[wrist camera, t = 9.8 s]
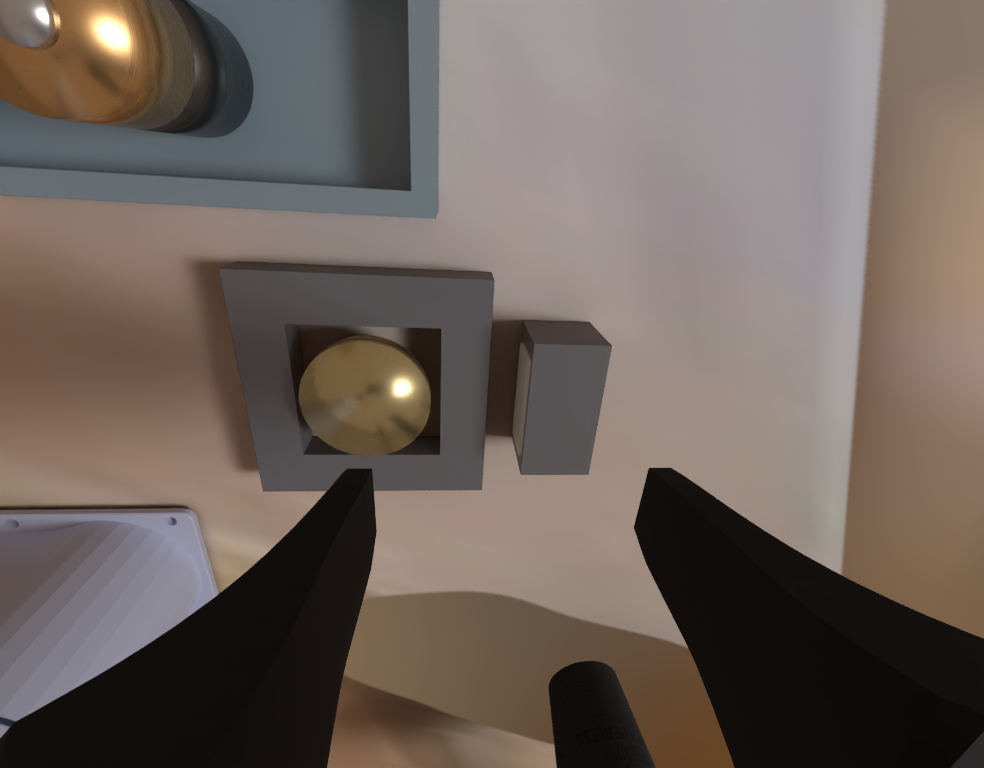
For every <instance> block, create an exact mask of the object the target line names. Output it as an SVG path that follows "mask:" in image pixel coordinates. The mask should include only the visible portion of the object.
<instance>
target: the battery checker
mask: <svg viewBox="0 0 984 768" xmlns="http://www.w3.org/2000/svg"><path fill="white" fill-rule="evenodd" d="M219 273H220V278H221V283H222V288H223V293H224V298H225V303H226V308H227V313H228V318H229V323H230V328H231V333H232V338H233V343H234V348H235V353H236V358H237V363H238V368H239V373H240V378H241V383H242V388H243V393H244V398H245V403H246V408H247V413H248V418H249V423H250V428H251V433H252V438H253V443H254V448H255V453H256V458H257V463H258V468H259V473H260V478H261V483H262V488H263V491H328V489H329V488H330V487H331V486H332V485H333V484H334V482H335V481H336V480H337V479H338V478H339V476H340V475H341V474H342V473H343V472H344V471H345V470H346V469H364V468H372V473H373V488H374V491H398V490H482V479H483V462H484V445H485V429H486V412H487V395H488V379H489V362H490V345H491V329H492V312H493V295H494V278H493V275H492V273H491V272H471V271H448V270H424V269H400V268H377V267H353V266H330V265H306V264H283V263H259V262H234V263H232V264H230V265H227V266H225V267H222V268H220V269H219ZM298 324H302V325H336V326H370V327H404V328H438V329H441V415H440V437H417V438H416V439H415V440H414V441H413V442H411V443H410V444H408V445H407V446H406V447H404V448H402V449H400V450H398V451H395V452H393V453H389V454H386V455H380V456H359V455H353V454H349V453H346V452H343V451H340V450H338V449H336V448H334V447H332V446H330V445H329V444H327V443H326V442H324V441H323V440H322V439H321V438H319V437H313V434H312V429H311V428H310V427H309V425H308V424H307V422H306V420H305V418H304V417H303V414H302V411H301V408H300V403H299V386H300V382H301V379H302V376H303V374H304V366H303V358H302V351H301V343H300V336H299V328H298ZM611 348H612V345H611V344H610V343H609V342H608V341H607V340H606V339H605V338H604V337H603V336H602V335H601V334H600V333H599V332H598V331H597V329H596V328H595V327H594V326H593V325H592V324H591V323H590V322H564V321H533V320H523V324H522V335H521V343H520V350H519V361H518V372H517V384H516V395H515V406H514V417H513V428H512V432H513V435H512V439H513V443H514V447H515V452H516V456H517V460H518V465H519V469H520V473H521V475H588V474H589V469H590V463H591V458H592V452H593V447H594V441H595V436H596V430H597V425H598V419H599V414H600V408H601V403H602V398H603V392H604V387H605V381H606V376H607V370H608V365H609V359H610V354H611Z"/></svg>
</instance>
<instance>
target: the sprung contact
mask: <svg viewBox="0 0 984 768" xmlns="http://www.w3.org/2000/svg"><path fill="white" fill-rule="evenodd" d="M299 403H300V408H301V411H302V414H303V417H304V418H305V420H306V422H307V424H308V425H309V427H310V428H311V429H312V431H313V432H314V433H315V434H316V435H317V436H318V437H319V438H321V439H322V440H323V441H324V442H326V443H327V444H329V445H330V446H332V447H334V448H336V449H338V450H340V451H343V452H346V453H349V454H353V455H359V456H380V455H386V454H389V453H393V452H395V451H398V450H400V449H402V448H404V447H406V446H407V445H408V444H410V443H411V442H413V441H414V440H415V439H416V438H417V437H418V435H419V434H420V433H421V432H422V430H423V428H424V427H425V425H426V423H427V420H428V417H429V413H430V405H431V386H430V382H429V379H428V376H427V373H426V372H425V370H424V368H423V366H422V365H421V363H420V362H419V361H418V360H417V358H416V357H415V356H414V355H413V354H412V353H410V352H409V351H408V350H407V349H405V348H404V347H402V346H401V345H399V344H397V343H395V342H393V341H391V340H388V339H385V338H381V337H376V336H368V335H357V336H350V337H346V338H342V339H339V340H337V341H335V342H333V343H331V344H329V345H328V346H326V347H325V348H324V349H322V350H321V351H320V352H319V353H318V354H317V355H316V356H315V358H314V359H313V360H312V362H311V363H310V364H309V366H308V367H307V369H306V370H305V372H304V374H303V376H302V379H301V382H300V386H299Z"/></svg>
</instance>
